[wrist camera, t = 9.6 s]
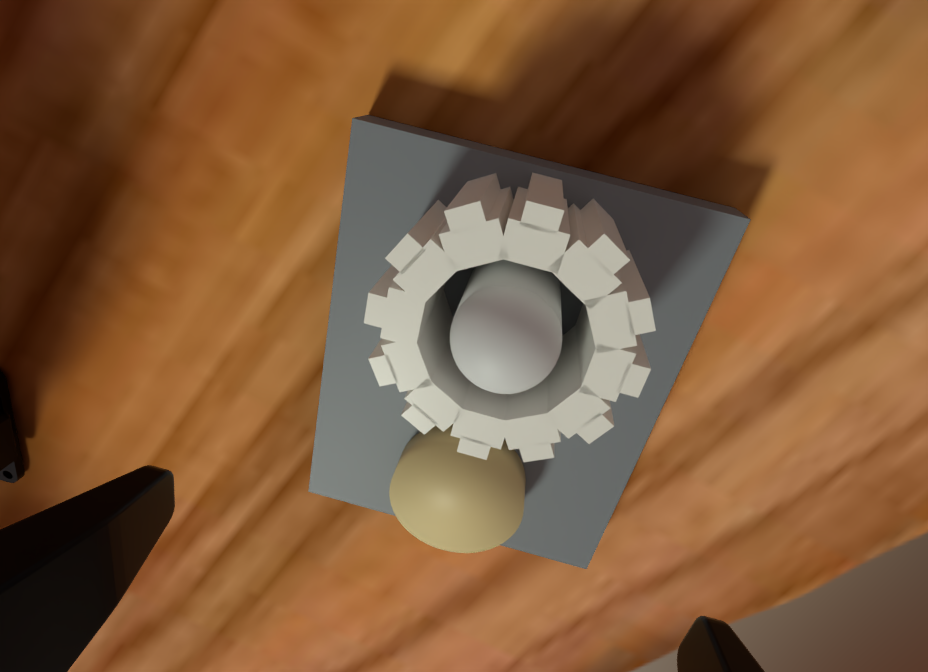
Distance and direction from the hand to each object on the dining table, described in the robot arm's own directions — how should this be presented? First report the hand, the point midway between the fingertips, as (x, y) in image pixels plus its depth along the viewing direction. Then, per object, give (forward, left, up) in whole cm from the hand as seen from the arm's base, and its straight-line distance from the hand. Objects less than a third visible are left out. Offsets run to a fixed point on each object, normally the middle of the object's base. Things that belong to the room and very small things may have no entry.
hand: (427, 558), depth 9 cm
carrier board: (+1, -2, -12) cm, 12 cm away
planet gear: (+1, +1, -10) cm, 10 cm away
